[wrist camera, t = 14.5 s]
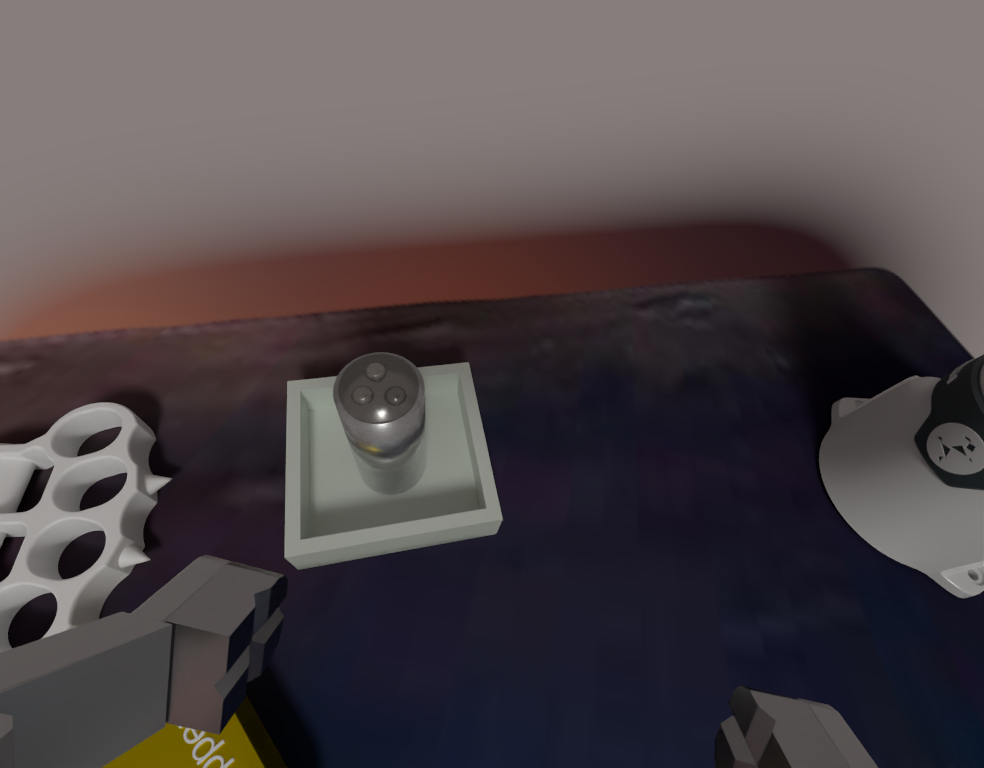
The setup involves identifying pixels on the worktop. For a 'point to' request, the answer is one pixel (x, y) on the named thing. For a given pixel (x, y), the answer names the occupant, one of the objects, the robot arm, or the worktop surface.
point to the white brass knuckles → (75, 513)
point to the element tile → (207, 746)
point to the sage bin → (377, 517)
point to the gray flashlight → (384, 420)
